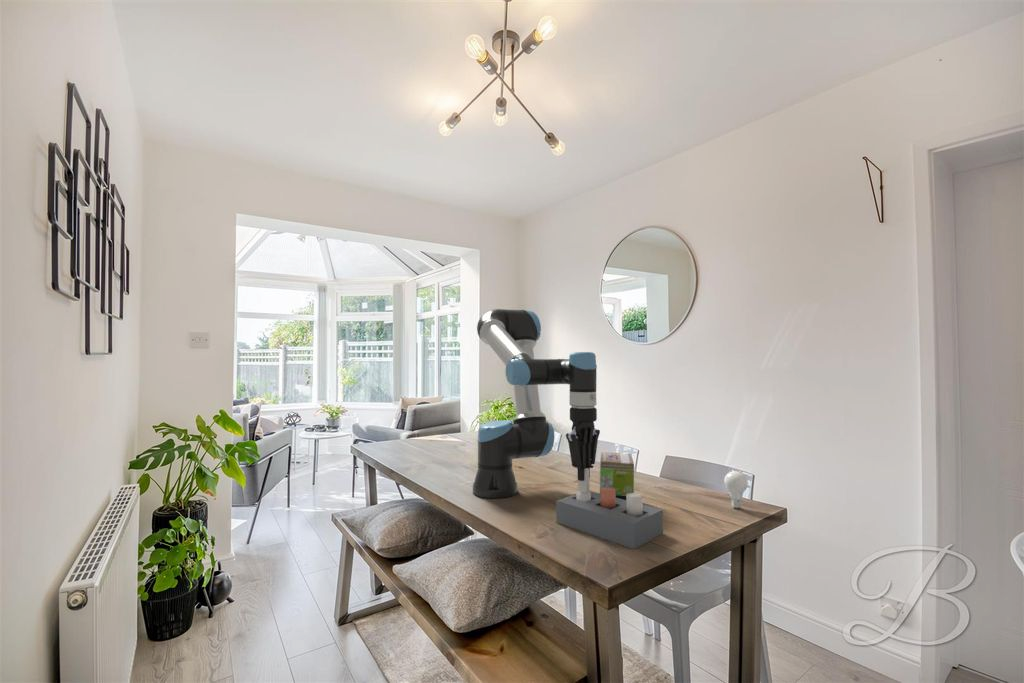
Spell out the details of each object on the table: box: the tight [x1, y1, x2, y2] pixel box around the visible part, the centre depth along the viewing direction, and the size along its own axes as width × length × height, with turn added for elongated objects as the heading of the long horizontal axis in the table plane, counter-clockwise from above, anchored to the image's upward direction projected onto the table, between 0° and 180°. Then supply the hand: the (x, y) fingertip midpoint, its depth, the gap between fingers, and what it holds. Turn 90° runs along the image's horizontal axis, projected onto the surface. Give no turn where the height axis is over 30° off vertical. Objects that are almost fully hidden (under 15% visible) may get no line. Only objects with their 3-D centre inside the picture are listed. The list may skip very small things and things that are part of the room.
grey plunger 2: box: [626, 492, 644, 517], centre depth 115 cm, size 4×4×6 cm
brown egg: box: [599, 487, 616, 509], centre depth 121 cm, size 4×4×6 cm
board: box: [555, 490, 664, 550], centre depth 121 cm, size 24×14×6 cm, turn 44°
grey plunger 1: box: [575, 490, 591, 502], centre depth 126 cm, size 4×4×6 cm
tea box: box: [599, 451, 635, 500], centre depth 140 cm, size 15×10×15 cm
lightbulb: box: [724, 470, 749, 510], centre depth 136 cm, size 6×6×11 cm
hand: (583, 491), depth 126 cm, fingers closed
